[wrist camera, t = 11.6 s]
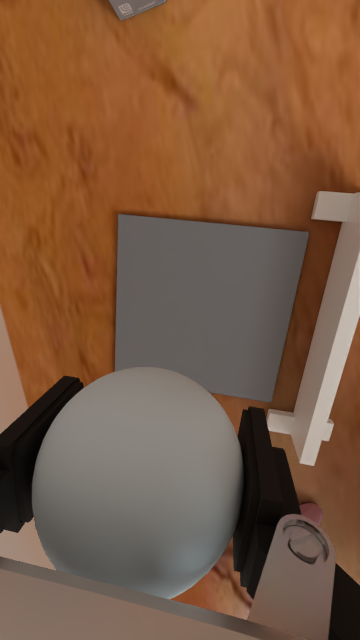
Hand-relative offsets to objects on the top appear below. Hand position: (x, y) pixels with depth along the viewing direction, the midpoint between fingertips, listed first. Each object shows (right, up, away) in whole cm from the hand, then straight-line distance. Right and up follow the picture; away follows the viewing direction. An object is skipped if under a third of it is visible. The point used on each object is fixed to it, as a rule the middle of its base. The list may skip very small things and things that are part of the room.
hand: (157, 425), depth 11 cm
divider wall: (+14, +3, +14) cm, 20 cm away
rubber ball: (0, 0, +1) cm, 1 cm away
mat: (+3, +5, +16) cm, 17 cm away
